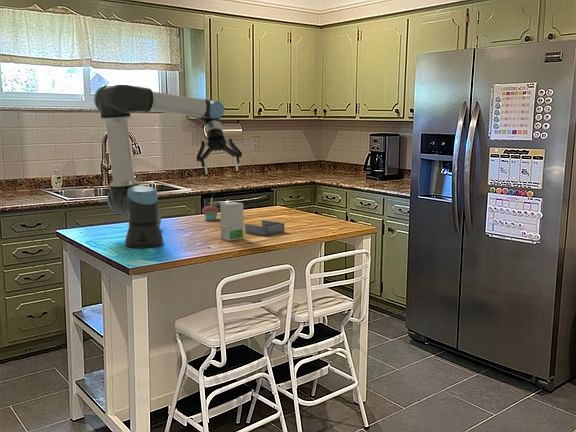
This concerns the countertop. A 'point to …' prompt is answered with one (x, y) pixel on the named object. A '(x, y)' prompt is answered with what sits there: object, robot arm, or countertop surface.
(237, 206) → the skincare box
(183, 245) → the countertop surface
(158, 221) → the garlic bulb
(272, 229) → the tray
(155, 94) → the robot arm
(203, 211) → the cupcake
